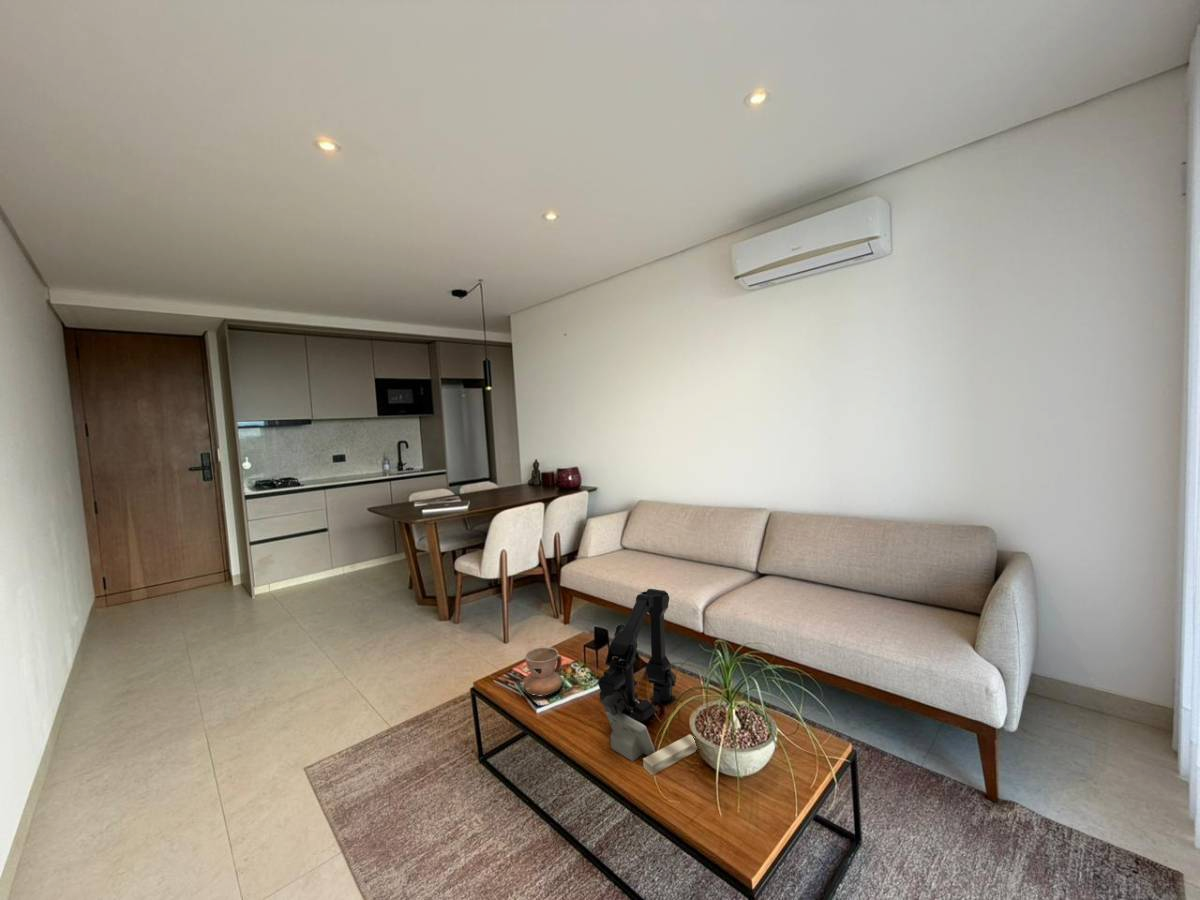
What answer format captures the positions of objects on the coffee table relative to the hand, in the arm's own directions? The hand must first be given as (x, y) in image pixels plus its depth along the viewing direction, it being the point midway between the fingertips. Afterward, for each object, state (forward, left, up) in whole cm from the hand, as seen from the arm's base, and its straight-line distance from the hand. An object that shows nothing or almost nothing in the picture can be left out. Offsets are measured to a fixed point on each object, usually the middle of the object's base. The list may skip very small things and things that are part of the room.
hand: (627, 728), depth 153 cm
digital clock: (+3, +4, -4) cm, 6 cm away
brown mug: (0, -44, -4) cm, 44 cm away
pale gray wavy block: (-2, +16, -4) cm, 16 cm away
